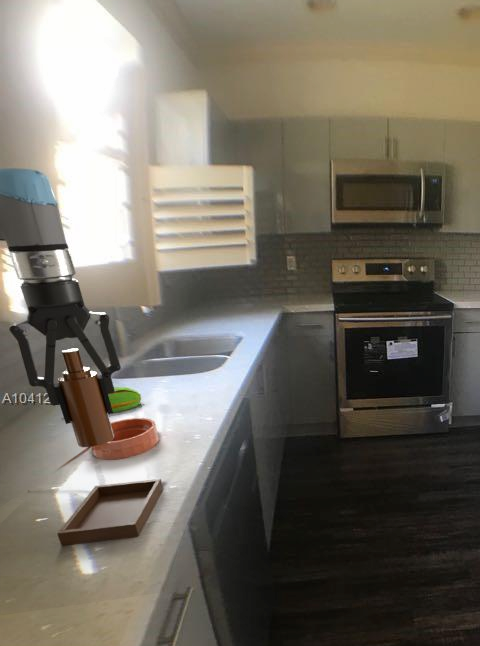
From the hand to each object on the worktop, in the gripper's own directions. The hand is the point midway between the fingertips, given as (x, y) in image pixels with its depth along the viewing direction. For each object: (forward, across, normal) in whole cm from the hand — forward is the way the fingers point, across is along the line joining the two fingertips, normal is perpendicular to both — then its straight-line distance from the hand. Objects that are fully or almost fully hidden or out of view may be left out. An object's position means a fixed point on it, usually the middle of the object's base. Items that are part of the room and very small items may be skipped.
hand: (89, 415), depth 80 cm
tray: (+21, 0, 0) cm, 21 cm away
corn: (+21, +5, +61) cm, 64 cm away
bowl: (+20, +6, +31) cm, 38 cm away
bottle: (+5, 0, 0) cm, 5 cm away
